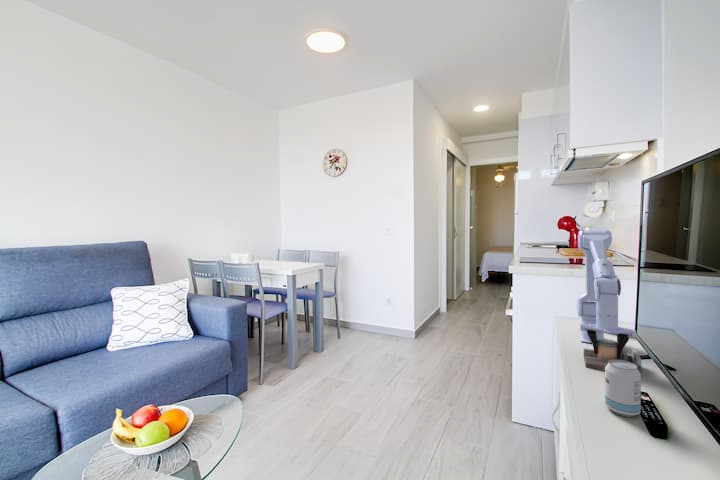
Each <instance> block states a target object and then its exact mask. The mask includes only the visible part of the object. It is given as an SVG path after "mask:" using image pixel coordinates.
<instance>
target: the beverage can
mask: <svg viewBox="0 0 720 480" xmlns="http://www.w3.org/2000/svg"><path fill="white" fill-rule="evenodd" d="M641 380H642V376H641V374H640V372H639V371H638V369H637V366H636V365H635V364H633V363H630V362H627V361H623V360H609V363H608V364H607V365H606V367H605V370H604V404H605V407H607V408H609V409H610V410H611V412H613V413H615V414H616V415H619V416H622V417H629V418H631V417H635V416H638V415H640V414H641V409H642V408H641V405H642V403H641V402H642V401H641V400H642V399H641V398H642V391H641V390H642V388H641V387H642V385H641V384H642V383H641V382H642V381H641Z"/></svg>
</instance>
